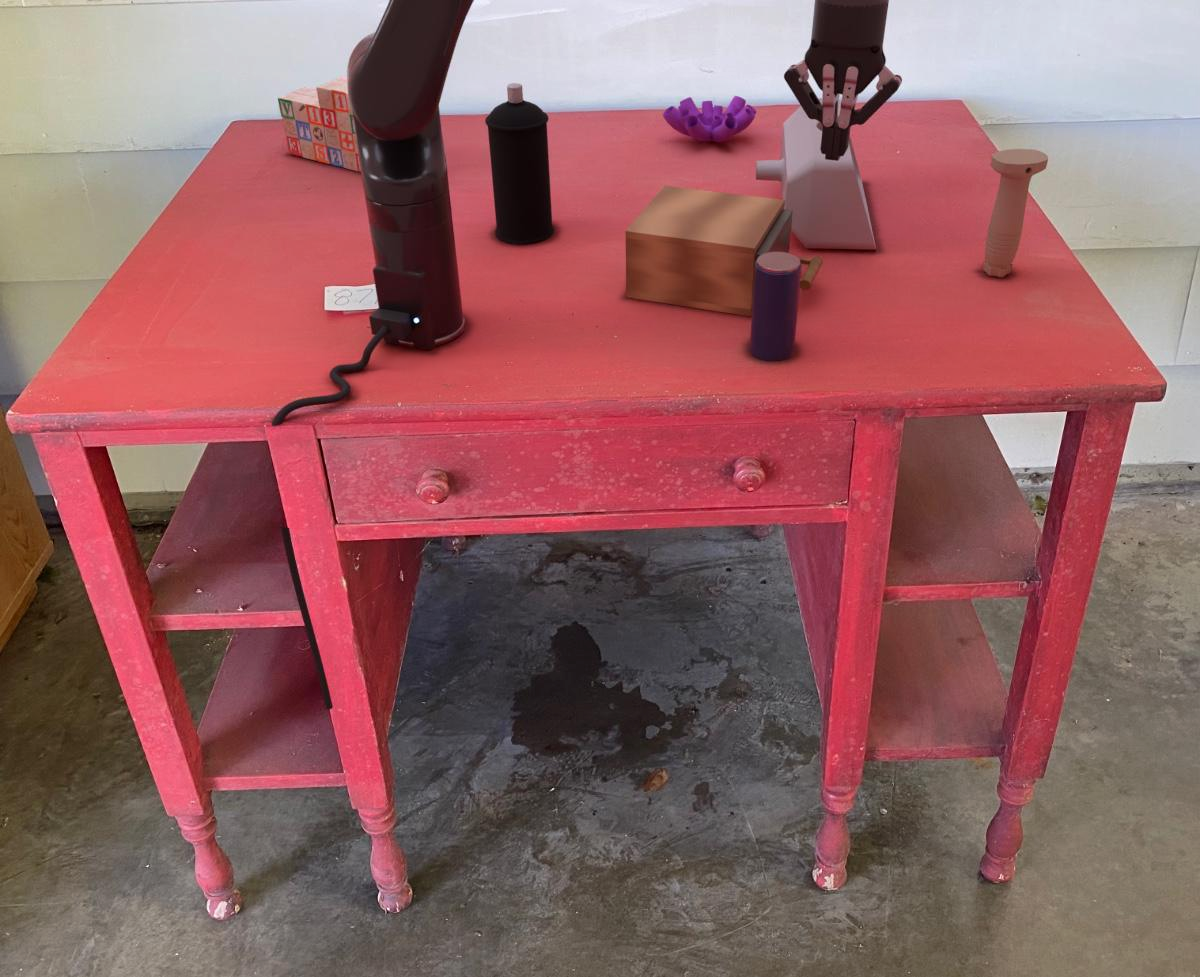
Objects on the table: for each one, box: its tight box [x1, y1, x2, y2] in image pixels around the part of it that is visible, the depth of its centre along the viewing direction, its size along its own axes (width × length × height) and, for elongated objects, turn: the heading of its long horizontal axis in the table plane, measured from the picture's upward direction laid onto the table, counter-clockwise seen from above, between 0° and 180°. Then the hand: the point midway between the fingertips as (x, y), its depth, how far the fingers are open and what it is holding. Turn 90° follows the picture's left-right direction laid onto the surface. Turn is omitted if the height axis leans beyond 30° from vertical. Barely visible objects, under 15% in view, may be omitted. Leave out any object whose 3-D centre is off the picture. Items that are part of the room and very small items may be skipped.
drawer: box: [755, 209, 824, 292], centre depth 137 cm, size 20×14×7 cm
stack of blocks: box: [277, 76, 361, 173], centre depth 175 cm, size 21×6×12 cm, turn 57°
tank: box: [755, 98, 877, 251], centre depth 153 cm, size 25×16×12 cm, turn 174°
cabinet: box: [624, 185, 785, 317], centre depth 139 cm, size 16×15×9 cm
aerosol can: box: [484, 82, 555, 246], centre depth 148 cm, size 8×8×20 cm
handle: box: [982, 148, 1049, 278], centre depth 137 cm, size 5×6×15 cm
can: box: [749, 252, 803, 362], centre depth 124 cm, size 5×5×11 cm
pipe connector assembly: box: [662, 95, 757, 143], centre depth 179 cm, size 11×15×10 cm
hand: (833, 157), depth 126 cm, fingers closed
